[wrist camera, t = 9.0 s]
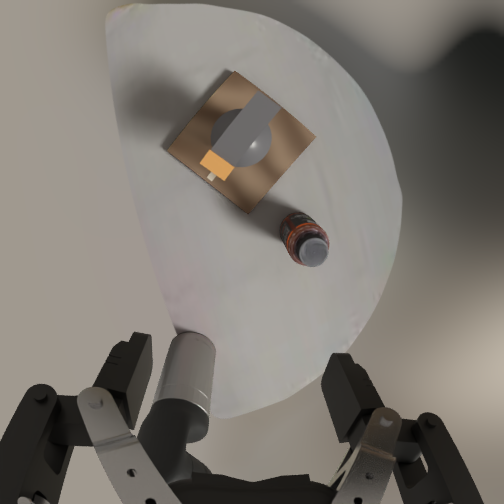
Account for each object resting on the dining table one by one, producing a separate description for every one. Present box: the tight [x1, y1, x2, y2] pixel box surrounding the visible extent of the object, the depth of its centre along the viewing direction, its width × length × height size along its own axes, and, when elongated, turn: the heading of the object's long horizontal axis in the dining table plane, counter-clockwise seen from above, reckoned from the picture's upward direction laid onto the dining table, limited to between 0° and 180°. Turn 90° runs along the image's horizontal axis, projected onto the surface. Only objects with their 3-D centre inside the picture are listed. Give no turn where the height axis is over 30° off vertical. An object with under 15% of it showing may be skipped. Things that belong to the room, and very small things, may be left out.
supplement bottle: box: [280, 213, 329, 267], centre depth 42 cm, size 6×6×11 cm
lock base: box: [167, 71, 316, 214], centre depth 38 cm, size 16×16×9 cm
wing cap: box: [200, 91, 282, 181], centre depth 29 cm, size 9×7×8 cm
